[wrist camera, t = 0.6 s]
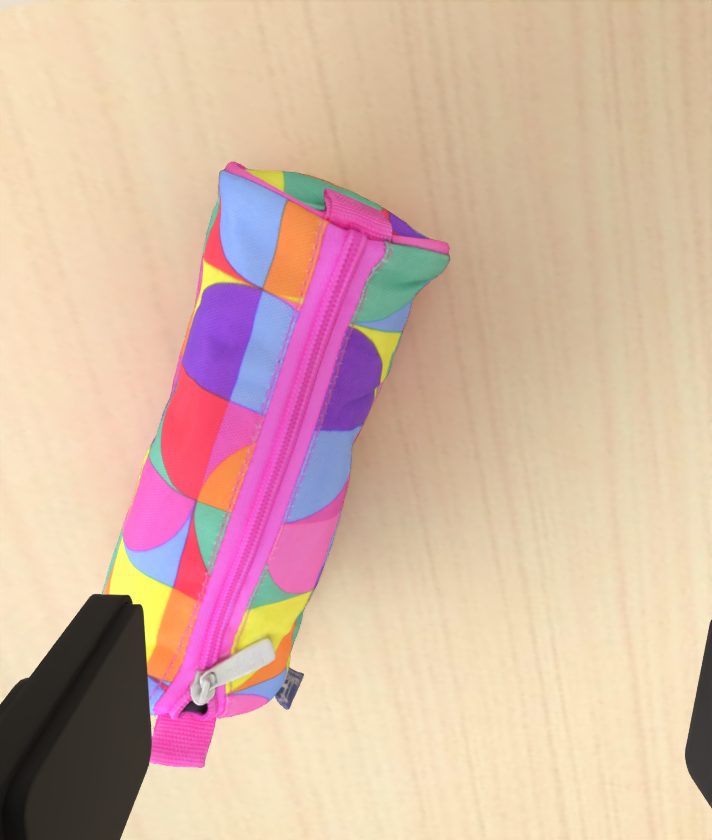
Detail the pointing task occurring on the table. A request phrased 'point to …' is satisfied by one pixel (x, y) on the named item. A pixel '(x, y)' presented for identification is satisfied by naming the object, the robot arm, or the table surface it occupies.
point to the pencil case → (260, 441)
